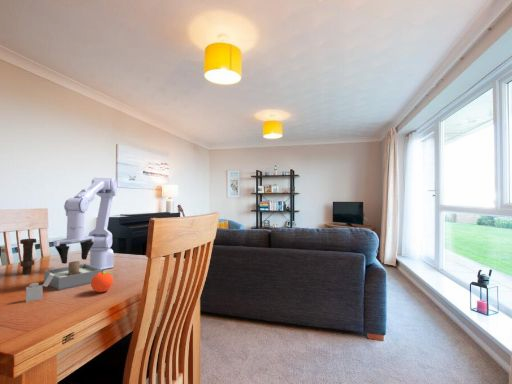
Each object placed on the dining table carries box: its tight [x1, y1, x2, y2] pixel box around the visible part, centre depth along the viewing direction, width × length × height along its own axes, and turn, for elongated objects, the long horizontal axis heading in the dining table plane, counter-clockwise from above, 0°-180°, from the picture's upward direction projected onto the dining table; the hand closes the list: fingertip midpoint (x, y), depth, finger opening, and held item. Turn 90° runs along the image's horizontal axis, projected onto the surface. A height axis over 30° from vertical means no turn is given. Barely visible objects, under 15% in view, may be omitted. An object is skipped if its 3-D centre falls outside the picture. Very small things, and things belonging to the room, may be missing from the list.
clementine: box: [90, 271, 116, 293], centre depth 95 cm, size 8×7×7 cm
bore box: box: [43, 263, 104, 292], centre depth 105 cm, size 15×16×4 cm
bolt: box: [19, 238, 37, 275], centre depth 115 cm, size 6×5×15 cm
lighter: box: [25, 273, 54, 303], centre depth 87 cm, size 7×2×8 cm, turn 130°
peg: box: [68, 260, 81, 276], centre depth 105 cm, size 4×4×7 cm
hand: (74, 261), depth 105 cm, fingers open, 7 cm apart
